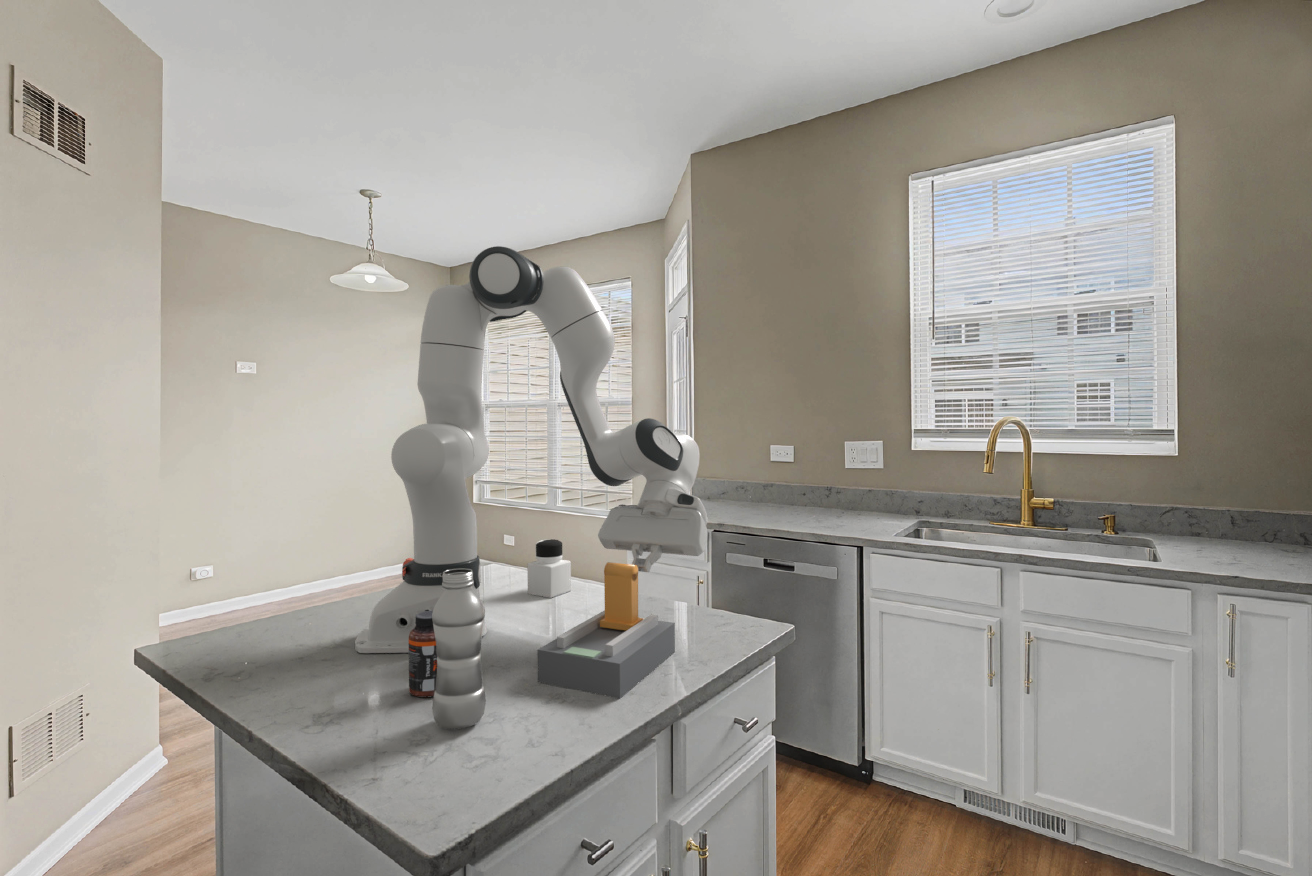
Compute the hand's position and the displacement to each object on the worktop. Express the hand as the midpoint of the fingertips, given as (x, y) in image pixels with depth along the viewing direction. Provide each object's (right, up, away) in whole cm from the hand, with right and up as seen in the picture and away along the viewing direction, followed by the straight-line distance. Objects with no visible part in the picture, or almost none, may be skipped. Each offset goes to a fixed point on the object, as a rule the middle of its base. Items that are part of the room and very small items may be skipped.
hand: (639, 569), depth 114 cm
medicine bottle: (-22, -12, +35) cm, 43 cm away
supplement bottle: (-30, -14, -19) cm, 38 cm away
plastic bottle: (-23, -14, -29) cm, 40 cm away
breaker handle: (-3, -8, -6) cm, 11 cm away
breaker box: (-5, -13, -10) cm, 17 cm away
